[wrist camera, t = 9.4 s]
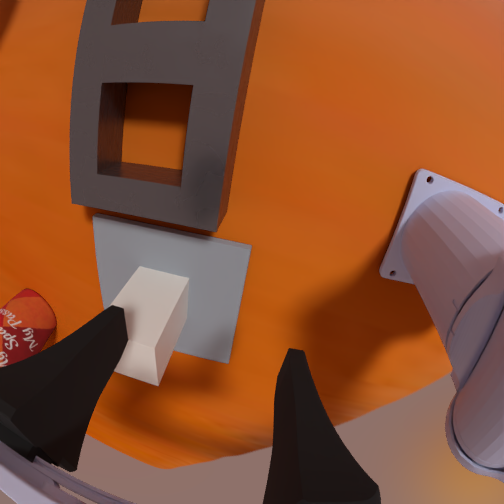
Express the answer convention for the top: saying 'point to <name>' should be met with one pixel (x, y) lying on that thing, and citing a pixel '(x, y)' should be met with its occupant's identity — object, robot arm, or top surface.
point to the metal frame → (161, 71)
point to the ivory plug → (151, 322)
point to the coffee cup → (24, 326)
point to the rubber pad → (182, 264)
